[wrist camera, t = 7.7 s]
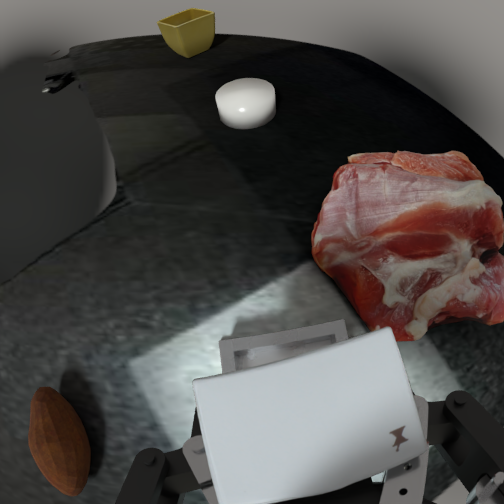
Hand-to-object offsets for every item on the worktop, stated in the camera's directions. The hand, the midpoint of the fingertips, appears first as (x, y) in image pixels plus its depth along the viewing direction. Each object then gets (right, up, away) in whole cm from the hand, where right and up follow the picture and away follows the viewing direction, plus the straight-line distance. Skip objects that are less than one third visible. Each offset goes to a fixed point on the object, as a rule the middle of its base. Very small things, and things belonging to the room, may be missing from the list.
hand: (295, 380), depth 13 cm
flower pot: (-14, +47, +39) cm, 63 cm away
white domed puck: (-3, +26, +27) cm, 38 cm away
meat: (+14, +6, +15) cm, 22 cm away
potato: (-20, -13, +9) cm, 26 cm away
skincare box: (+1, -4, +4) cm, 6 cm away
